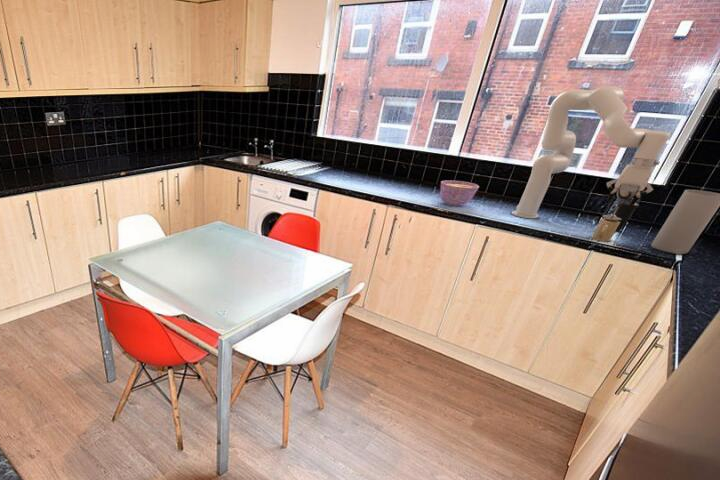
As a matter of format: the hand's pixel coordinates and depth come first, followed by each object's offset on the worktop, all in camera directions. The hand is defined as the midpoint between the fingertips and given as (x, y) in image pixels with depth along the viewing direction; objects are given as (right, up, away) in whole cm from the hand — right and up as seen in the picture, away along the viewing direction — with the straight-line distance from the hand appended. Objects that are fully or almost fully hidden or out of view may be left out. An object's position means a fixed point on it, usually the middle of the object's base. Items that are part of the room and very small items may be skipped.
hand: (619, 203), depth 192 cm
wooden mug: (-2, -15, +8) cm, 17 cm away
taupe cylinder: (+21, -22, -1) cm, 30 cm away
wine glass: (0, -5, +3) cm, 6 cm away
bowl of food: (-43, +18, +57) cm, 74 cm away
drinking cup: (+18, -7, +22) cm, 29 cm away
